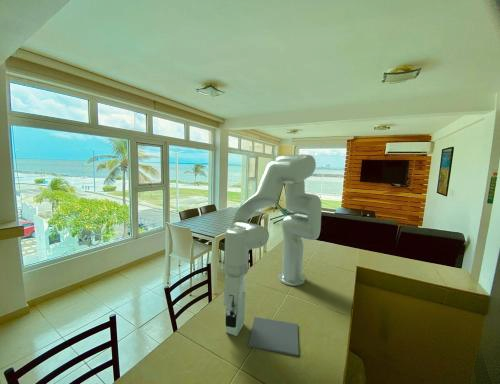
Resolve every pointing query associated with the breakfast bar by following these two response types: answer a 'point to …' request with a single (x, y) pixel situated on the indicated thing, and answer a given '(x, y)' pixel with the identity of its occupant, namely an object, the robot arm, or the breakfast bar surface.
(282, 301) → the breakfast bar surface
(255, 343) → the mat
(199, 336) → the breakfast bar surface
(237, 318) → the skincare box
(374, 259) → the breakfast bar surface
